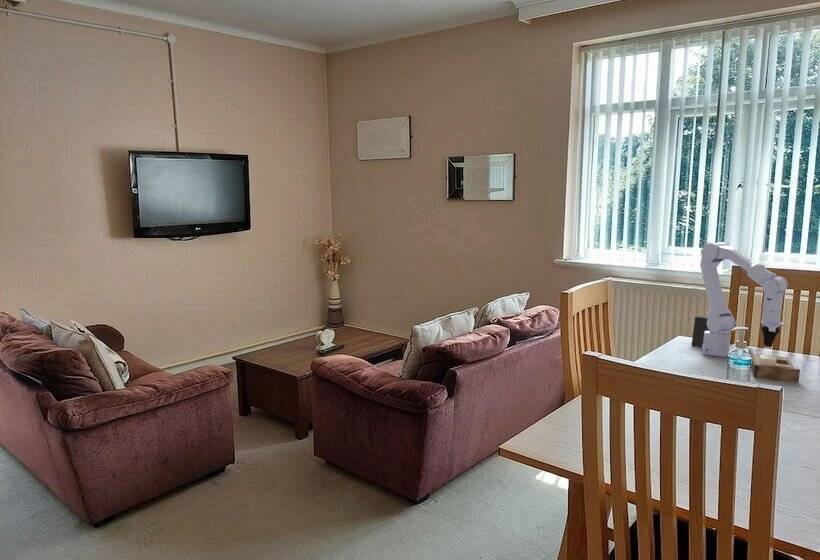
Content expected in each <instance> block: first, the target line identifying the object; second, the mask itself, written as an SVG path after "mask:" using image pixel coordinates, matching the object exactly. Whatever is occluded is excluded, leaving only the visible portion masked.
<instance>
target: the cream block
mask: <svg viewBox="0 0 820 560" xmlns="http://www.w3.org/2000/svg"><path fill="white" fill-rule="evenodd" d="M766 355H767V354H761V355H760V358H759V365H768V366H776V358H775V356H776V355H771V356H766Z"/></svg>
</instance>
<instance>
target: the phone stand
mask: <svg viewBox="0 0 820 560" xmlns="http://www.w3.org/2000/svg"><path fill="white" fill-rule="evenodd" d="M704 331H709V329H708V327H707V316H700V315H695V316H694V325H693V331H692V339H691V345H694V346H693V347H695V346H698V347H697V348H702V344H703V341H704Z"/></svg>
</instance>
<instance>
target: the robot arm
mask: <svg viewBox="0 0 820 560" xmlns="http://www.w3.org/2000/svg"><path fill="white" fill-rule="evenodd" d="M700 255H701V259H700V265H699V266H700V270H701V275H702V280H703V284H704V287H705V291H706V295H707V301H708V304H709V311H707V314H706V317H707V327H708V329H709V331H704V341H703V344H702V347H701V349H702V354H703V355H704V356H705V355H706V356H715V357H723V358H728V357H727V356H728V354H729V353H730V345H731V336H732V335H731V333H732V331H733V329H735V327H736V325H737V321H736V319H735V317H734V316H733V315H732V311H731V309H729V307H727V306H726V301H725V297H724V293H723V288H722V285H721V281H720V276H719V273H718V272H719V271H718V267H719V266H720V264H721V262H723V261H725V260H729V261H730V262H731V263H732V262H733V263H734V264H735V265H737V266H738V267H740V268H742V269H743V270H745V271H746V275H747V276H748V278H750V279H752V281H755V283H757V284H758V285H759V286H761V289H762V291H763V305H762V314H761V320H760V324H761V325H760V329H761V332H762V335H763V344H764V347H766V348H772V346H773V345H774V341H775V339H776V338H777V335H778V334H779V332H780V331H781V330H780V328H779V327H781V326H785V324H784V322H782V321H781V319H782V318H781V317H782V308H783V301H784V292H786V291H787V289H788V287H789V283H788V281H787V280H786V278H785V277H783V276H781V275H779V276H778V275H777V274H776V273H775V272H772V271H770V270H769V269H767V268H766V265H765V264H761V263H753V262H752V261H751V260H749V259H748V258H747V257H746V256H744V255H743V254H742V253H741V252H739V251H738V249H736V248H735V246H733V245H731V244H730V243H728V242H727V241H722V242H707V243H706V244H704V246H703V247H702V248H701V250H700ZM730 354H731V353H730Z"/></svg>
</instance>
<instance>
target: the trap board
mask: <svg viewBox="0 0 820 560" xmlns="http://www.w3.org/2000/svg"><path fill="white" fill-rule="evenodd" d="M747 353H749V354H750V355H751V357H752V364H751V367H750V368H751V369H750V370H751V372H752V376H753V378H757V379H765V380H772V381H773V380H775V381H781V382H788V381H790V382H789V383H796V382H799V381H800V372H801V369H799V368H795V367H794V365H793V363H792V362H791V360H790V357H788V356H779V355H778V356H777V355H774V356H775V358H776V366H768V365H759V358H760V355H762V354H761V353H754V351H753V348H751V347H748V352H747ZM765 355H766V356H772V354H771V355H770V354H765ZM799 383H800V382H799Z"/></svg>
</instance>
